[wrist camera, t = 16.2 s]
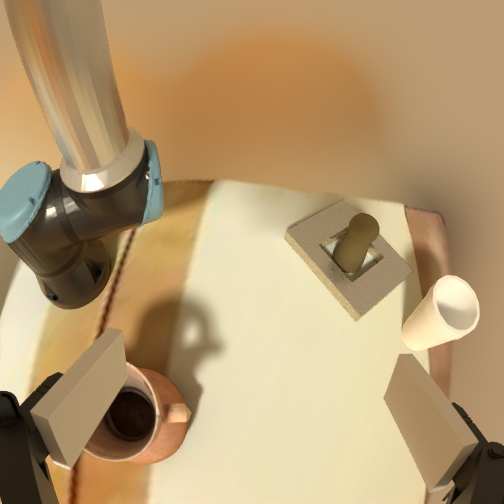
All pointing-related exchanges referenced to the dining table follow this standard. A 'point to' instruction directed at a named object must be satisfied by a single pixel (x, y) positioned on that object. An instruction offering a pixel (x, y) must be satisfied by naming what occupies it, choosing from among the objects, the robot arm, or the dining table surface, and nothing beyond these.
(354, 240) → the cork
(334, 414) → the dining table surface
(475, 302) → the foam cup
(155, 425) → the ceramic jug
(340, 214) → the plate
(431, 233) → the dining table surface
